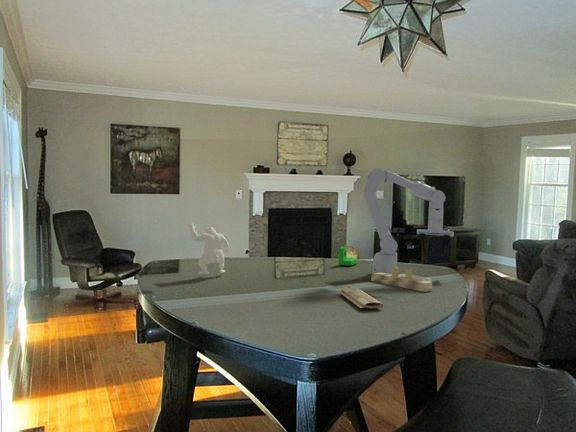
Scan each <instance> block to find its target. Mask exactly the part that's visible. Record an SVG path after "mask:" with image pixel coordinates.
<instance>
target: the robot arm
mask: <svg viewBox="0 0 576 432" xmlns="http://www.w3.org/2000/svg"><path fill="white" fill-rule="evenodd" d="M383 183H393V184H396V185H398V186H401V187H403V188H406V189H408V190H409V191H410V192H411V194H412V195H414V196H415V197H417V198H420V199H422V200H424V201H428V203H429V204H428V218H427V229H420V228H419V229H418V228H417V229H416V235H418V239H419V240H420V243H421V247H422V252H423V253H428V241H429V240H428V239H429V236H441V244H442V246H441V255H446V252H447V248H448V246H449V244H450V242H451V240H452V237H455V231H451V230H450V231H449V230H443V228H444V226H443V225H444V203H445V201H446V195H445V193H444V192H443V191H442V190H439V189H436V187H435V186H430V185H428V184H426V183H425V181H422V180H421V181H419V180H417V181H411V180H409V179H407V178H405V177H403V176H402V175H398V174H397V173H395V172H392V171H389V170H386V169H382V168H381V167H376V168H374V169H372V170H371V171H370V172H369V174H368V175H367V176H366V179H365V183H364V187H363V196H364V199H365V202H366V205H367V207H368V210H369V211H370V215H371V217H372V219H373V220H372V221H373V222H374V223H373V224H374V225H375V228H376V231H377V233H378V237H379V240H380V241H379V247H380V249H381V250H380V251H379V252H376V253H375V254H374V255H373V259H372V273H374V272H382V273H387V274H392V267H397V266H398V252H397V251H398V243H397V241H396V240H395V239H394V238H393V235H392V234H391V232H390V229H389V226H388V224H387V221H386V218H385V216H384V213H383V209H382V207H381V204H380V201H379V200H378V197H377V191H378V190H379V188H380V186H381V185H382V184H383Z"/></svg>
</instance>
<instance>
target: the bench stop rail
mask: <svg viewBox="0 0 576 432" xmlns="http://www.w3.org/2000/svg"><path fill="white" fill-rule="evenodd" d="M413 272H414V271H413V269H411V268H410V269H408V268H407V269H405V274H406V277H403V276H399V274H400V267H392V274H387V273H382V272H374V273H373V272H371V274H370V275H371V278H370V281H371V282H376V283H381V284H384V285H390V286H394V287H395V286H396V287H400V288H405V289H409V290H412V291H413V290H414V291H419V292H423V293H424V292H425V293H427V292H432V291H433V282H432V281H431V282H429V281H424V280H419V279H413V278H412V277H413V275H414V273H413Z"/></svg>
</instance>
